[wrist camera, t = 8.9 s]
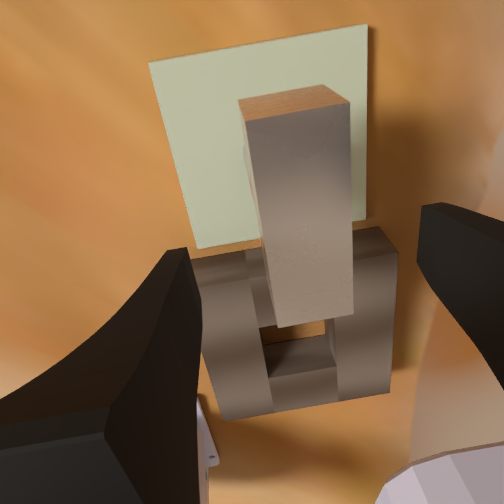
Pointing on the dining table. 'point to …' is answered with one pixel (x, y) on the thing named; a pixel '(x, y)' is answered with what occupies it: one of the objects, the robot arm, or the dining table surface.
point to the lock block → (301, 350)
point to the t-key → (302, 199)
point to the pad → (229, 123)
